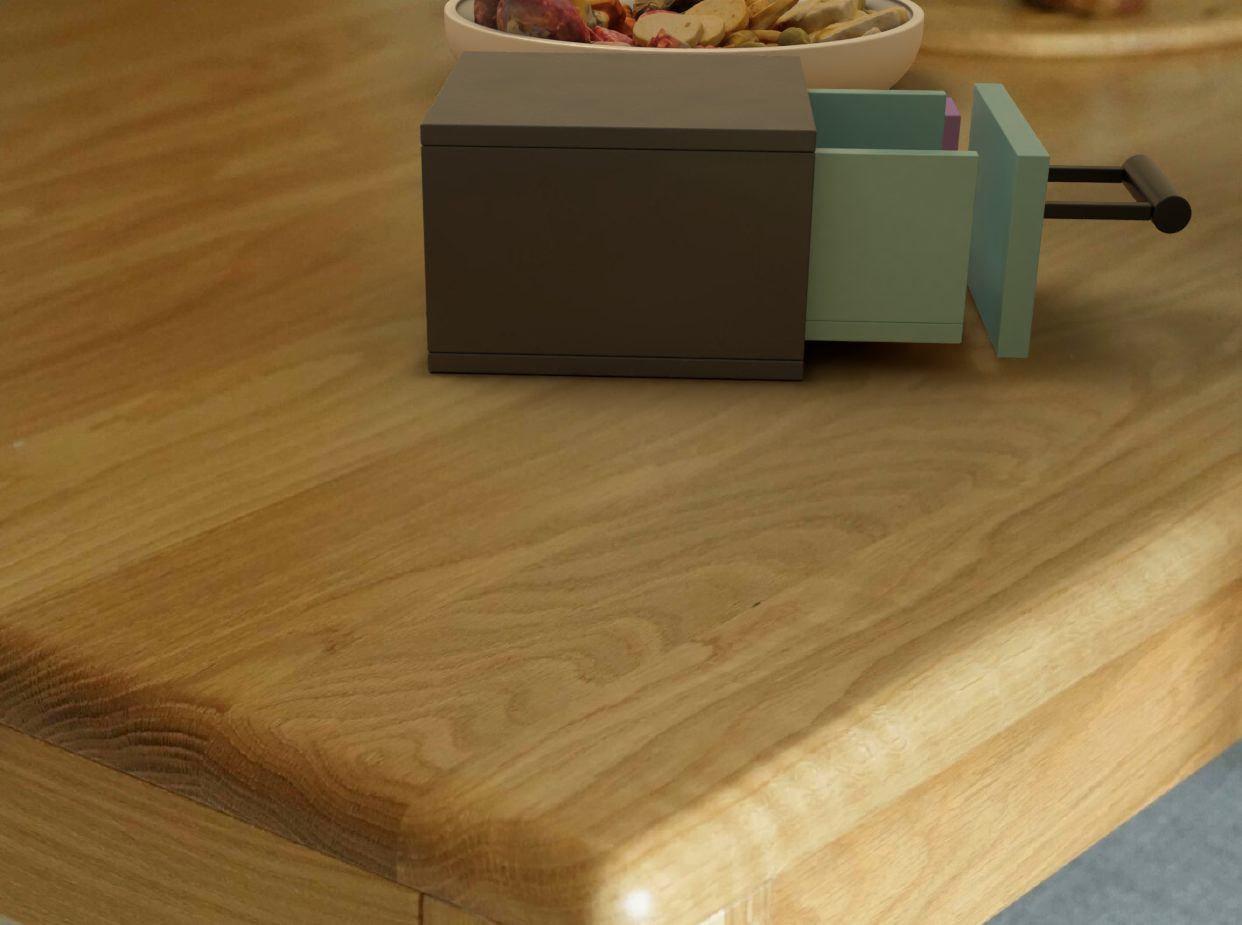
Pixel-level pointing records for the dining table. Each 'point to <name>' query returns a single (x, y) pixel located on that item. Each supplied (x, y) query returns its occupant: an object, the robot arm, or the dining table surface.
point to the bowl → (706, 32)
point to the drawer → (944, 216)
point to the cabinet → (618, 215)
